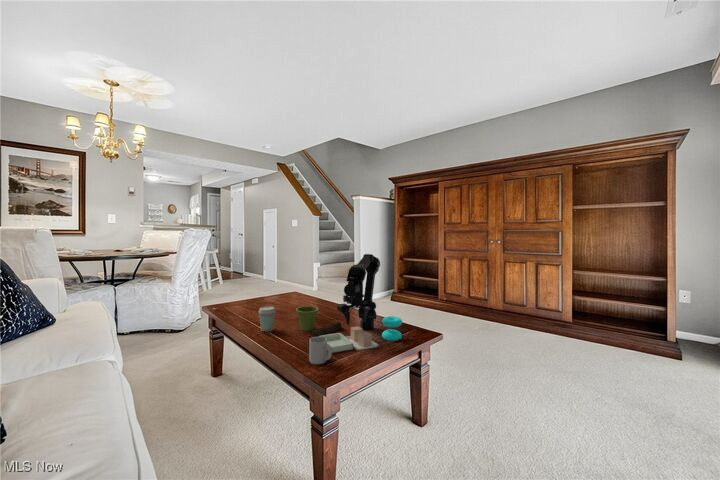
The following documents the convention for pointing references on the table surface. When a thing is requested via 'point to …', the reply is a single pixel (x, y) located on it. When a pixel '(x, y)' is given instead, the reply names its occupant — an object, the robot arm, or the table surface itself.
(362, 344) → the tan rectangular block
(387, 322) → the donuts
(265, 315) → the coffee cup
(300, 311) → the plant pot
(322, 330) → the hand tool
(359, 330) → the tan rectangular block
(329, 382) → the table surface
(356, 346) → the tray
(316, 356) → the cup
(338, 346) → the bin
